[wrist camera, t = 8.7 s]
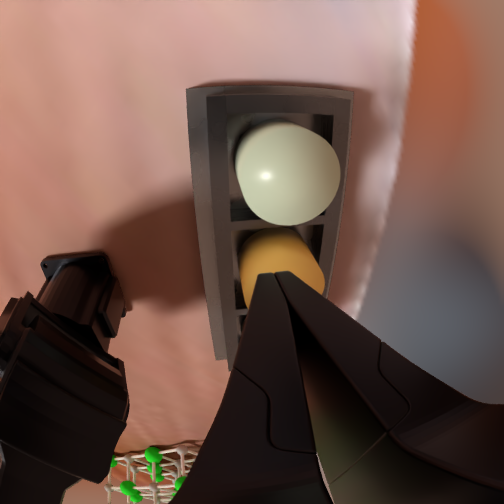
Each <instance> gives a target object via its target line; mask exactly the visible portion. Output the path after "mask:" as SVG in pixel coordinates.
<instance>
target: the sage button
mask: <svg viewBox="0 0 504 504" xmlns="http://www.w3.org/2000/svg"><path fill="white" fill-rule="evenodd" d="M234 169H235V173H236V176H237V178H238V181H239V184H240V187H241V190H242V193H243V196H244V198H245V201H246V203H247V204H248V206H249V207H250V209H251V210H252V211H253V212H254V213H255V214H256V215H257V216H259V217H260V218H262V219H264V220H265V221H267V222H270V223H273V224H277V225H297V224H301V223H304V222H307V221H309V220H311V219H313V218H315V217H316V216H318V215H319V214H320V213H322V212H323V211H324V210H325V209H326V208H327V207H328V206H329V204H330V203H331V202H332V200H333V198H334V197H335V195H336V192H337V190H338V187H339V183H340V164H339V160H338V158H337V155H336V153H335V151H334V149H333V148H332V147H331V145H330V144H329V143H328V142H327V141H326V140H325V139H324V138H322V137H321V136H319V135H318V134H316V133H314V132H312V131H310V130H308V129H306V128H304V127H302V126H300V125H297V124H295V123H293V122H291V121H288V120H283V119H271V120H266V121H263V122H260V123H258V124H256V125H254V126H253V127H251V128H250V129H249V130H247V131H246V132H245V133H244V135H243V136H242V137H241V139H240V140H239V142H238V144H237V146H236V149H235V153H234Z"/></svg>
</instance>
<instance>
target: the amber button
mask: <svg viewBox="0 0 504 504" xmlns="http://www.w3.org/2000/svg"><path fill="white" fill-rule="evenodd" d="M237 263H238V269H239V274H240V279H241V285H242V290H243V295H244V300H245V303H246V306H247V308H248V309H249V305H250V301H251V298H252V294H253V290H254V286H255V283H256V279H257V275H258V274H260V273H269V272H272V273H273V274H274V273H275V272H279V271H290V272H292V273H293V274H294V275H296V276H297V277H298V278H300V279H301V280H302V281H304V282H305V283H306V284H308V285H309V286H310V287H312V288H313V289H314V290H316V291H317V292H318V293H320V294H321V295H322V293H323V291H324V286H325V279H324V275H323V273H322V271H321V269H320V267H319V265H318V264H317V262H316V260H315V258H314V257H313V255H312V253H311V251H310V250H309V248H308V246H307V244H306V243H305V241H304V240H303V238H302V237H301V236H300V235H299V234H298V233H297V232H295V231H293V230H291V229H288V228H284V227H274V228H266V229H263V230H260V231H258V232H256V233H255V234H253V235H252V236H250V237H249V238H248V239H247V240H246V241H245V242H244V244H243V245H242V247H241V249H240V251H239V254H238V260H237Z"/></svg>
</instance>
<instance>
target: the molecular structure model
mask: <svg viewBox="0 0 504 504" xmlns="http://www.w3.org/2000/svg"><path fill="white" fill-rule="evenodd" d="M175 451H177V453H178V454H179V455H181V459H177V460H174V459H171V458H168V457H165V456H163V454H164V453H169V452H175ZM187 453H191V454H194V455H198V453H197V452H194V451H191V450H188V448H187V447H186V446H185V445H179V446H178V447H177V448H174V449H169V450H164V451H160V449H158V448H156V447H149V448H147V449H146V451H145V454H140V455H134V456H132V455H131V454H126V455H125V456H124V457H118V458H116V456H115V455H113V457H112V462H111V467H115V466H116V465H117V463H119V464H121V465H124V466H127V481H123V482H122V483H121V484H120V487H113V485H111V467H110V472H109V474H108V484H106V485H105V490H106V491H108V504H111V492H113V491H114V490H115V491H118V492H122V493H124V494H125V495H127V504H130V500H131V501H133V502H134V504H136V502H140V501H142V499H143V498H146V499H151V500H153V501H154V504H160V503H161V502H166V503H169V502H170V501H171V500H172V498H173V497H174V496H175V494H176V493H177V491H178V490H179V488H180V487H181V485H182V483H183V482H184V480H185V478H186V476H187V474H185V473H187V472H189V471H190V470H185V466H188V467H192V465H190V464H187V462H193V461H195V459H196V458H194V459H189V460H184V455H186V454H187ZM139 457H145V458H146V459H147V460H148V461H149V462H148V463H147V462H144V461H142V460H139V459H136V458H139ZM162 458H163V459H166V460H169V461H172V463H166V464H161V463H160V461H161V460H162ZM123 459H124V460H125V461H126V462H127V464H125V463H122V462H120V461H118V460H123ZM134 460H135V461H137V462H140V463H143V464H146V465H147V466H143V467H137V466H135V465H133V466H131V465H130V463H132V462H133V461H134ZM169 465H175V466H176V467H177V468H178V470H173V471H172V470H169V469H166V468H163V467H162V466H169ZM146 468H147V469H148V471H146V470H143V469H146ZM180 468H181V469H182V471H181V469H180ZM130 470H131V471H132V472H133V482H131V481H130ZM162 470H165V471H168V472H171V473H162V472H161V471H162ZM139 471H142V472H145V473H148V474H150V477H151V479H152V480H153V482H152V483H150V485H149V486H136V473H138V472H139ZM164 475H172V476H173V477H175V478H170V477H166V476H164ZM181 475H182V477H181ZM164 478H166V479H170V480H172V482H173V483H174V484H167V485H159V484H158V482H161V481H163V479H164ZM167 487H175V489H174V490H170V489H166V488H167ZM146 489H150V490H151V491H150V490H146ZM138 490H140V491H144V492H149V493H141V492H140V491H138ZM160 490H163V491H167V492H165V493H160ZM160 495H162V496H167V497H171V498H170V499H161V498H160ZM147 496H153V498H151V497H147Z"/></svg>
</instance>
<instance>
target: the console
mask: <svg viewBox="0 0 504 504" xmlns="http://www.w3.org/2000/svg"><path fill="white" fill-rule="evenodd" d="M353 94H354V92H352V91H345V90H336V89H326V88H315V87H300V86H276V85H239V86H215V87H201V88H189V89H186V100H187V118H188V134H189V148H190V161H191V173H192V184H193V194H194V205H195V214H196V223H197V232H198V241H199V249H200V257H201V265H202V273H203V280H204V288H205V295H206V302H207V308H208V315H209V321H210V328H211V334H212V340H213V346H214V352H215V358H216V360H224V359H227V361H228V369H229V371H231V370H232V369H233V364H234V360H235V357H236V353H237V349H238V346H239V342H240V338H241V326H242V323H243V321H244V320H245V319H246V316H247V312H248V308H247V306H246V303H245V300H244V295H243V290H242V285H241V279H240V274H239V269H238V263H237V260H238V254H239V251H240V249H241V247H242V245H243V244H244V242H245V241H246V240H247V239H248V238H249V237H250V236H252V235H253V234H255V233H256V232H258V231H260V230H263V229H266V228H274V227H284V228H288V229H291V230H293V231H295V232H297V233H298V234H299V235H300V236H301V237H302V238H303V240H304V241H305V243H306V244H307V246H308V248H309V250H310V251H311V253H312V255H313V257H314V258H315V260H316V262H317V264H318V265H319V267H320V269H321V271H322V273H323V275H324V279H325V286H324V291H323V293H322V296H324V297H325V298H326V299H327V298H328V293H329V288H330V283H331V278H332V272H333V267H334V261H335V255H336V250H337V244H338V237H339V231H340V224H341V218H342V211H343V203H344V196H345V188H346V179H347V170H348V161H349V151H350V139H351V127H352V112H353ZM271 119H283V120H288V121H291V122H293V123H295V124H297V125H300V126H302V127H304V128H306V129H308V130H310V131H312V132H314V133H316V134H318V135H319V136H321V137H322V138H324V139H325V140H326V141H327V142H328V143H329V144H330V145H331V147H332V148H333V149H334V151H335V153H336V155H337V158H338V160H339V164H340V183H339V187H338V190H337V192H336V195H335V197H334V198H333V200H332V202H331V203H330V204H329V206H328V207H327V208H326V209H325V210H324V211H323V212H322V213H320V214H319V215H318V216H316V217H315V218H313V219H311V220H309V221H307V222H304V223H301V224H297V225H277V224H273V223H270V222H267V221H265V220H264V219H262V218H260V217H259V216H257V215H256V214H255V213H254V212H253V211H252V210H251V209H250V207H249V206H248V204H247V203H246V201H245V198H244V196H243V193H242V190H241V187H240V184H239V181H238V178H237V176H236V173H235V169H234V153H235V149H236V146H237V144H238V142H239V140H240V139H241V137H242V136H243V135H244V133H245V132H246V131H247V130H249V129H250V128H251V127H253V126H254V125H256V124H258V123H260V122H263V121H266V120H271Z"/></svg>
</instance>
